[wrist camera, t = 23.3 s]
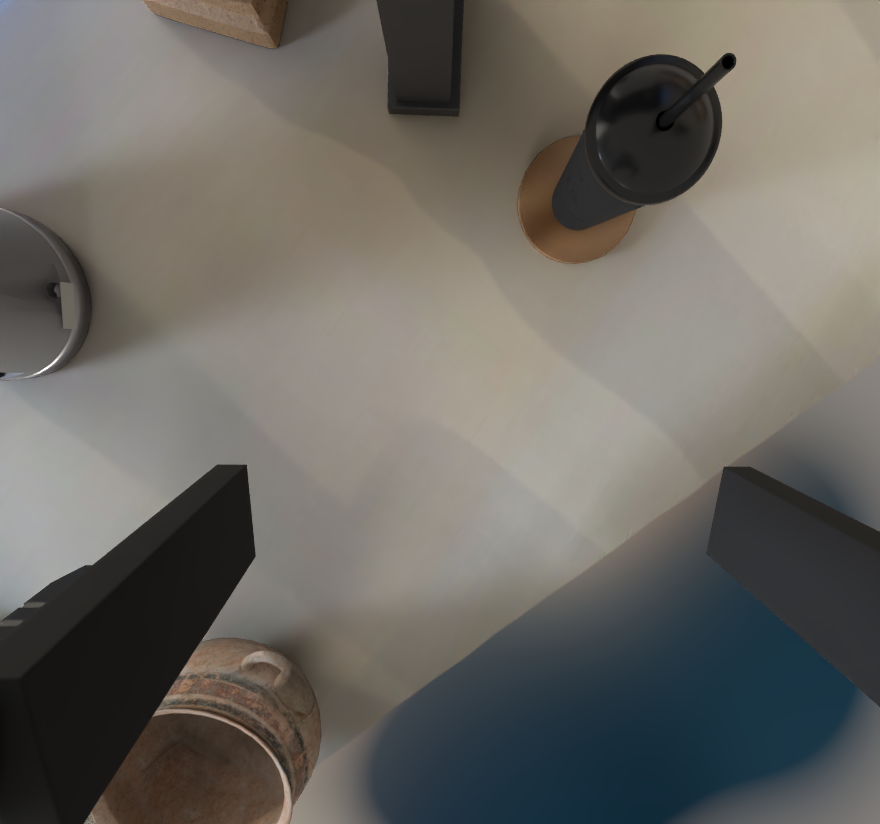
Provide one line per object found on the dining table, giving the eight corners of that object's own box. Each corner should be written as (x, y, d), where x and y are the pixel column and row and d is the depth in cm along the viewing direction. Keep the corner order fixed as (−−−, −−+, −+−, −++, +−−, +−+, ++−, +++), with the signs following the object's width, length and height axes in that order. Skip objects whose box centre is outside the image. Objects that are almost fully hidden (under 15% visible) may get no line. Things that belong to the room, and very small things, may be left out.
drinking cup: (592, 133, 36) (767, -93, 17) (639, 211, 38) (852, 84, 18) (518, 190, 37) (602, 39, 18) (565, 264, 39) (693, 199, 19)
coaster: (493, 207, 38) (494, 205, 38) (576, 110, 37) (579, 107, 36) (575, 288, 40) (577, 287, 39) (659, 197, 38) (662, 195, 37)
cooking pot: (268, 792, 51) (215, 936, 39) (125, 716, 49) (22, 842, 37) (384, 642, 47) (364, 750, 35) (233, 551, 45) (156, 633, 33)
